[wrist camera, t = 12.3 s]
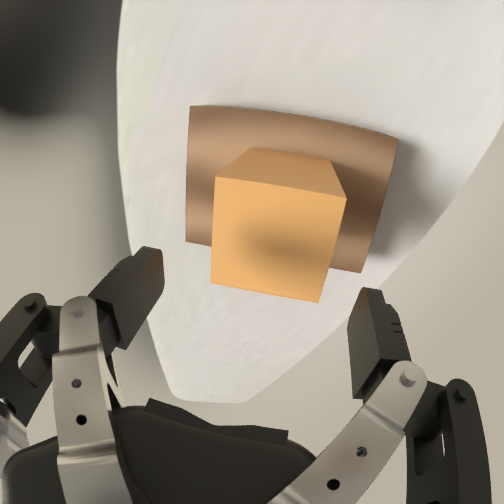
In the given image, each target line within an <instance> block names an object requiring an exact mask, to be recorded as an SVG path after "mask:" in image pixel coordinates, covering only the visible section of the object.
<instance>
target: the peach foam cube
mask: <svg viewBox="0 0 504 504" xmlns="http://www.w3.org/2000/svg"><path fill="white" fill-rule="evenodd" d="M346 199H347V198H346V195H345V193H344V191H343V188H342V186H341V184H340V182H339V179H338V177H337V175H336V173H335V170H334V168H333V166H332V164H331V162H330V160H325V159H320V158H314V157H309V156H303V155H298V154H292V153H285V152H279V151H272V150H265V149H258V148H249V149H248V150H247V151H246V152H244V153H243V154H242V155H241V156H240V157H238V158H237V159H236V160H235V161H233V162H232V163H231V164H230V165H228V166H227V167H226V168H225V169H224V170H222V171H221V172H220V173H219V174H218V175H217V176H215V190H214V208H213V229H212V254H211V283H213V284H218V285H223V286H228V287H233V288H238V289H243V290H249V291H254V292H259V293H265V294H270V295H276V296H281V297H287V298H292V299H298V300H304V301H310V302H316V303H318V302H319V299H320V296H321V292H322V289H323V286H324V282H325V279H326V276H327V272H328V269H329V265H330V262H331V258H332V254H333V251H334V247H335V243H336V240H337V236H338V232H339V228H340V224H341V220H342V216H343V212H344V208H345V204H346Z"/></svg>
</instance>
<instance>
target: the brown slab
mask: <svg viewBox="0 0 504 504" xmlns="http://www.w3.org/2000/svg"><path fill="white" fill-rule="evenodd" d="M397 143H398V139H396V138H394V137H391V136H389V135H386V134H383V133H379V132H376V131H372V130H368V129H364V128H360V127H356V126H352V125H348V124H343V123H339V122H334V121H329V120H324V119H319V118H313V117H308V116H302V115H296V114H289V113H283V112H275V111H268V110H259V109H250V108H239V107H226V106H210V105H203V106H190V113H189V128H188V146H187V170H186V242H191V243H196V244H202V245H207V246H212V229H213V208H214V190H215V176H217V175H218V174H219V173H220V172H221V171H222V170H224V169H225V168H226V167H227V166H228V165H230V164H231V163H232V162H233V161H235V160H236V159H237V158H238V157H240V156H241V155H242V154H243V153H244V152H246V151H247V150H248V149H249V148H258V149H265V150H272V151H279V152H285V153H292V154H298V155H303V156H309V157H314V158H320V159H325V160H330V162H331V164H332V166H333V168H334V170H335V173H336V175H337V177H338V179H339V182H340V184H341V186H342V188H343V191H344V193H345V195H346V198H347V199H346V204H345V208H344V212H343V216H342V220H341V224H340V228H339V232H338V236H337V240H336V243H335V247H334V251H333V254H332V258H331V262H330V265H329V268H334V269H340V270H345V271H351V272H356V273H361V271H362V269H363V266H364V263H365V260H366V257H367V254H368V251H369V248H370V245H371V242H372V239H373V235H374V232H375V229H376V226H377V222H378V219H379V216H380V212H381V209H382V205H383V201H384V198H385V194H386V190H387V186H388V182H389V178H390V174H391V170H392V166H393V161H394V157H395V152H396V148H397Z"/></svg>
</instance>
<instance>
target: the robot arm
mask: <svg viewBox="0 0 504 504" xmlns="http://www.w3.org/2000/svg"><path fill="white" fill-rule="evenodd" d="M164 283H165V279H164V267H163V255H162V251H161V250H160V249H156V248H151V247H146V246H143V247H141V248H140V249H139V251H138V252H137V253H136V254H135V255H134V256H129V257H127V258H125V259H123V260H121V261H120V262H119V263H118V264H117V265H116V266H115V267H114V268H113V270H111V271H110V272H109V273H108V274H107V276H105V277H104V278H103V279H102V281H101V282H100V283H99V284H98V285H97V286H96V287H95V288H94V289H93V290H92V291H91V293H90V294H89V295H88V296H77V297H74V298H71V299H70V300H68V301H67V302H66V303H65V304H64V305H63V306H51V305H50V306H49V305H47V303H46V300H45V298H44V296H43V295H41V294H39V293H31V294H28V295H26V296H24V297H23V298H21V299H20V300H19V301H18V302H17V303H16V304H15V306H14V307H13V308H12V309H11V310H10V311H9V312H8V314H7V315H6V316H5V317H4V318H3V319H2V320H1V322H0V478H1V479H2V491H3V504H355V503H356V502H357V501H358V499H359V498H360V497H361V496H362V495H363V494H364V493H365V491H366V490H367V489H368V488H369V486H370V485H371V484H372V482H373V481H374V480H375V478H376V477H377V476H378V474H379V473H380V472H381V470H382V469H383V467H384V466H385V465H386V463H387V462H388V460H389V459H390V457H391V456H392V454H393V453H394V451H395V450H396V448H397V447H398V445H399V443H400V442H401V440H402V439H403V437H404V435H406V448H407V498H406V504H492V500H491V482H490V471H489V463H488V455H487V448H486V442H485V436H484V431H483V427H482V421H481V417H480V412H479V408H478V404H477V400H476V396H475V392H474V390H473V388H472V387H471V386H470V385H469V384H468V383H467V382H466V381H464V380H462V379H453V380H451V381H450V382H449V383H448V384H447V385H446V386H441V385H439V384H436V383H432V382H430V381H427V378H426V375H425V373H424V371H423V370H422V369H421V368H420V367H419V366H418V365H417V364H415V363H413V362H412V361H411V358H410V353H409V350H408V346H407V342H406V339H405V335H404V334H403V329H402V326H401V322H400V319H399V316H398V313H397V312H396V311H395V309H394V308H393V307H392V306H391V305H390V304H386V303H385V300H384V297H383V294H382V291H381V290H378V289H372V288H366V287H363V288H362V289H361V290H360V293H359V295H358V298H357V300H356V303H355V305H354V307H353V310H352V312H351V315H350V317H349V321H348V327H347V333H348V343H349V353H350V365H351V378H352V394H353V399H363V406H362V407H361V409H360V410H359V411H358V412H357V413H356V415H355V416H354V417H353V418H352V419H351V421H350V422H349V423H348V424H347V425H346V426H345V428H344V429H343V430H342V431H341V432H340V433H339V435H337V437H336V438H335V439H334V440H333V441H332V442H331V443H330V444H329V445H328V446H327V447H326V448H325V449H324V450H323V451H322V452H321V453H320V454H319V455H318V456H317V457H315V456H314V455H313V454H312V453H311V452H310V451H308V450H307V449H306V448H304V447H303V446H301V445H299V444H297V443H295V442H293V441H291V440H288V439H287V437H288V430H280V429H273V428H267V427H261V426H255V425H245V426H244V425H241V426H217V425H213V424H210V423H208V422H206V421H204V420H202V419H200V418H198V417H197V416H195V415H193V414H191V413H189V412H188V411H186V410H184V409H182V408H179V407H176V406H173V405H170V404H166V403H163V402H160V401H157V400H154V399H152V398H149V400H148V402H147V404H146V406H127V407H126V405H125V402H124V399H123V397H122V394H121V390H120V385H119V381H118V376H117V371H116V366H115V361H114V356H113V353H112V352H113V350H114V348H115V347H119V348H121V349H124V350H126V349H127V347H128V346H129V344H130V343H131V341H132V339H133V338H134V336H135V335H136V333H137V331H138V330H139V328H140V326H141V325H142V324H143V322H144V320H145V319H146V317H147V316H148V314H149V313H150V311H151V310H152V308H153V307H154V305H155V304H156V302H157V300H158V299H159V297H160V296H161V294H162V292H163V289H164ZM30 341H31V342H32V344H33V346H34V348H33V350H32V351H31V353H30V354H29V355H28V357H27V358H26V360H25V361H24V363H23V364H22V366H21V367H20V369H19V367H18V359H19V356H20V355H21V353H22V352H23V350H24V349H25V348H26V346H27V345H28V344H29V342H30ZM52 380H53V397H54V409H55V420H56V428H57V436H55V437H52V438H50V439H47V440H45V441H43V442H40V443H37V444H35V445H32V446H30V447H28V446H29V441H28V439H27V438H26V437H27V432H26V427H27V425H28V423H29V421H30V419H31V417H32V415H33V413H34V412H35V410H36V408H37V406H38V404H39V403H40V401H41V399H42V397H43V396H44V394H45V392H46V390H47V389H48V387H49V385H50V384H51V382H52ZM442 434H443V438H444V448H445V455H443V446H442V445H443V444H442V436H441V435H442Z"/></svg>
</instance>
